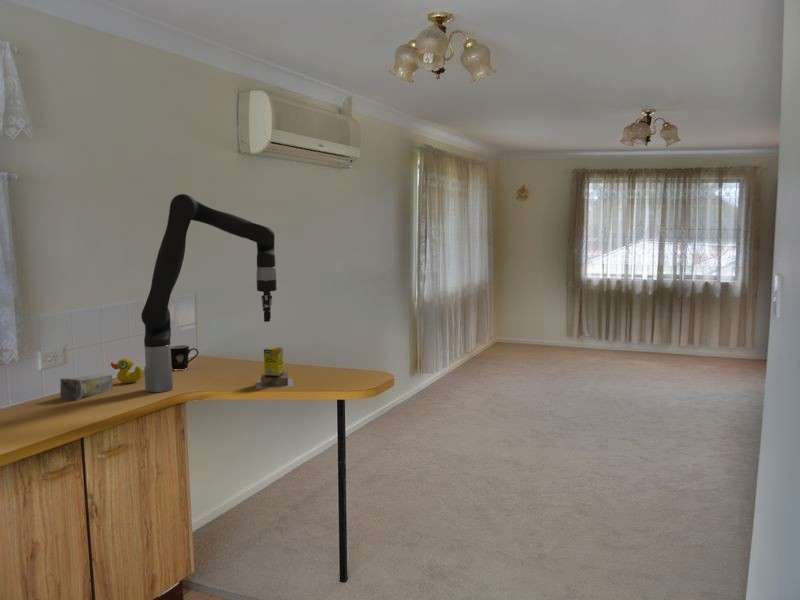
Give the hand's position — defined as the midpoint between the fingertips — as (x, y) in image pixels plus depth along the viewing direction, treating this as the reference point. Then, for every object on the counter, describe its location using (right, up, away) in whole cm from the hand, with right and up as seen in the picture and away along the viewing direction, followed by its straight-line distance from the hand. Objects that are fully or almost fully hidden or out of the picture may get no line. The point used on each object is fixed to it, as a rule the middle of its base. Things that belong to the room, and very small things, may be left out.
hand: (267, 320), depth 248 cm
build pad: (+3, -25, 0) cm, 25 cm away
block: (-65, -28, -10) cm, 71 cm away
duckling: (-58, -26, +7) cm, 63 cm away
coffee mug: (-44, -23, +33) cm, 60 cm away
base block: (+3, -25, 0) cm, 25 cm away
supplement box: (+3, -22, 0) cm, 22 cm away
